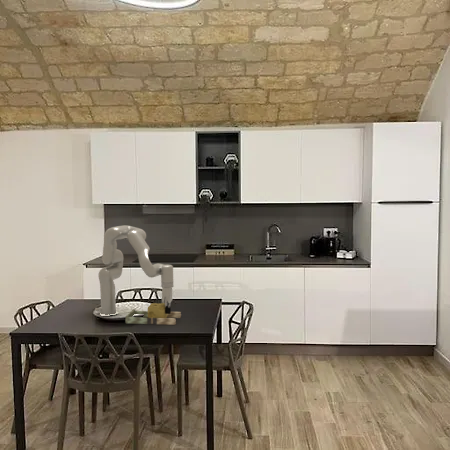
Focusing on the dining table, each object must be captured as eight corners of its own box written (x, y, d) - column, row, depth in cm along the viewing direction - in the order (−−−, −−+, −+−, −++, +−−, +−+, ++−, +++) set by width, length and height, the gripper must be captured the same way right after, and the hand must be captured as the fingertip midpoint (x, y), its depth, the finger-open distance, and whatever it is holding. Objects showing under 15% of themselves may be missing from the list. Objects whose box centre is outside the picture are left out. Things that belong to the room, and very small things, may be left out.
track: (125, 323, 296) (125, 316, 295) (133, 316, 312) (133, 309, 311) (175, 324, 292) (175, 317, 292) (180, 317, 308) (180, 310, 308)
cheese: (163, 323, 296) (163, 307, 295) (146, 322, 297) (146, 306, 296) (167, 318, 306) (167, 302, 305) (150, 318, 307) (150, 302, 306)
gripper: (164, 282, 307) (164, 310, 308) (158, 286, 292) (159, 316, 293) (175, 282, 306) (176, 310, 307) (170, 287, 291) (171, 316, 293)
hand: (168, 313), depth 300 cm, fingers closed
